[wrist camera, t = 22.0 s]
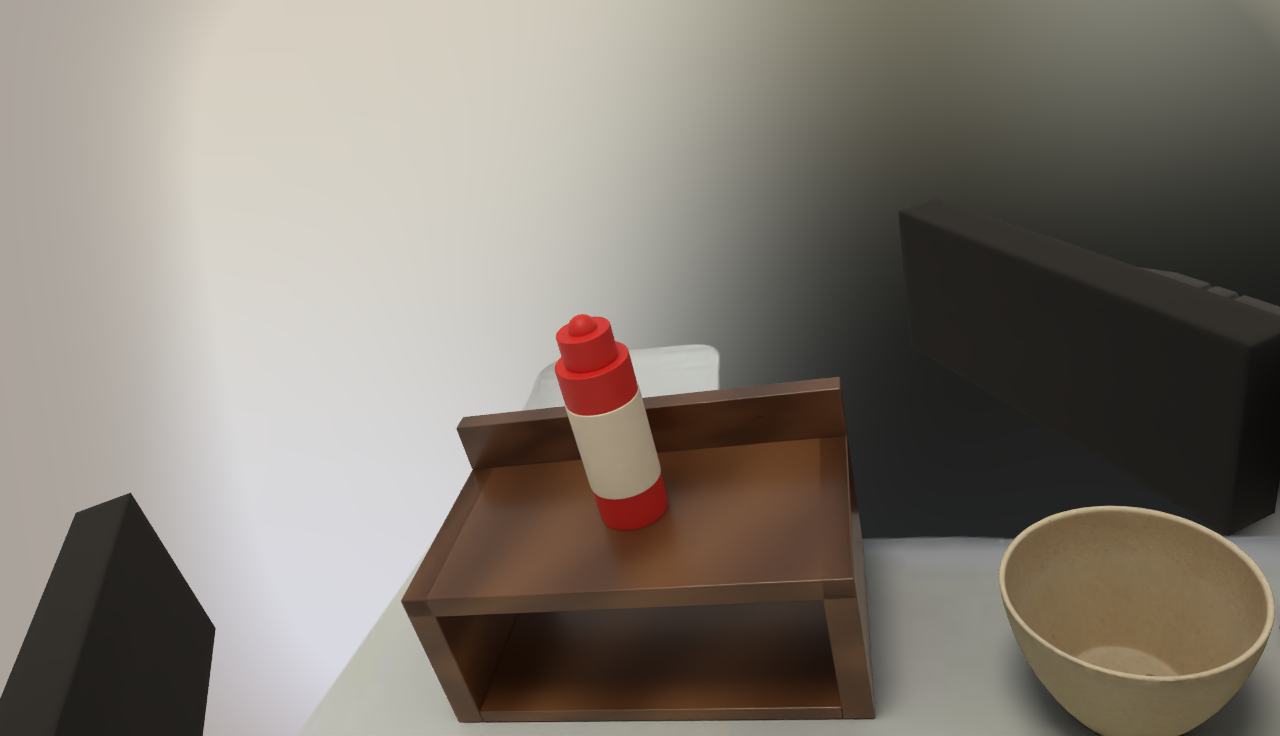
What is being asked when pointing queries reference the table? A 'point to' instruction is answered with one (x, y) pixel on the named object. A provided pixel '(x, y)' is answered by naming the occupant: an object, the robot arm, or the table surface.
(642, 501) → the red cream bottle
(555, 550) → the shelf
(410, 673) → the table surface
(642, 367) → the table surface
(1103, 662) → the beige bowl
